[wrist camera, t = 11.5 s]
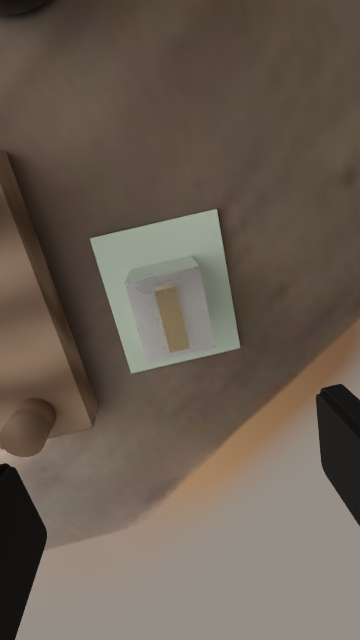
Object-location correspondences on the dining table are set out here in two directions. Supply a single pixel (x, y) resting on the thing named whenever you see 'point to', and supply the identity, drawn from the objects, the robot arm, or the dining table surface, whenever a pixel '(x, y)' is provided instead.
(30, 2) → the dark green wine bottle
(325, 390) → the robot arm
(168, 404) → the dining table surface
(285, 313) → the dining table surface
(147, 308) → the white block
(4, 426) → the tan board with knob
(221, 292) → the mat
